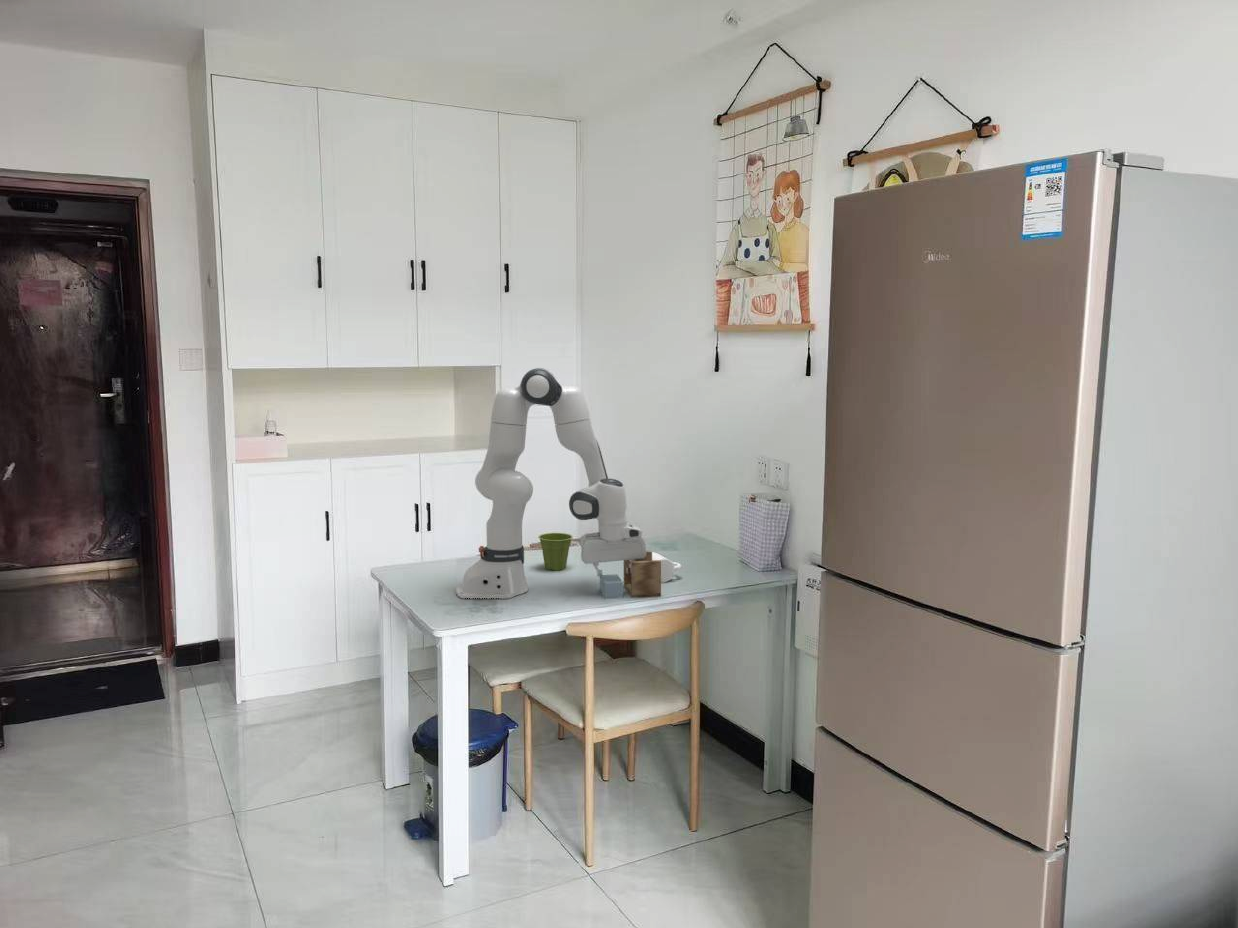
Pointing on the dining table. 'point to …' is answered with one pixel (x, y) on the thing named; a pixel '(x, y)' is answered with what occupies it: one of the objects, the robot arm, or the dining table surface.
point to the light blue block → (611, 586)
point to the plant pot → (555, 549)
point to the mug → (666, 567)
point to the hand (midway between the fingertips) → (614, 574)
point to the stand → (643, 577)
